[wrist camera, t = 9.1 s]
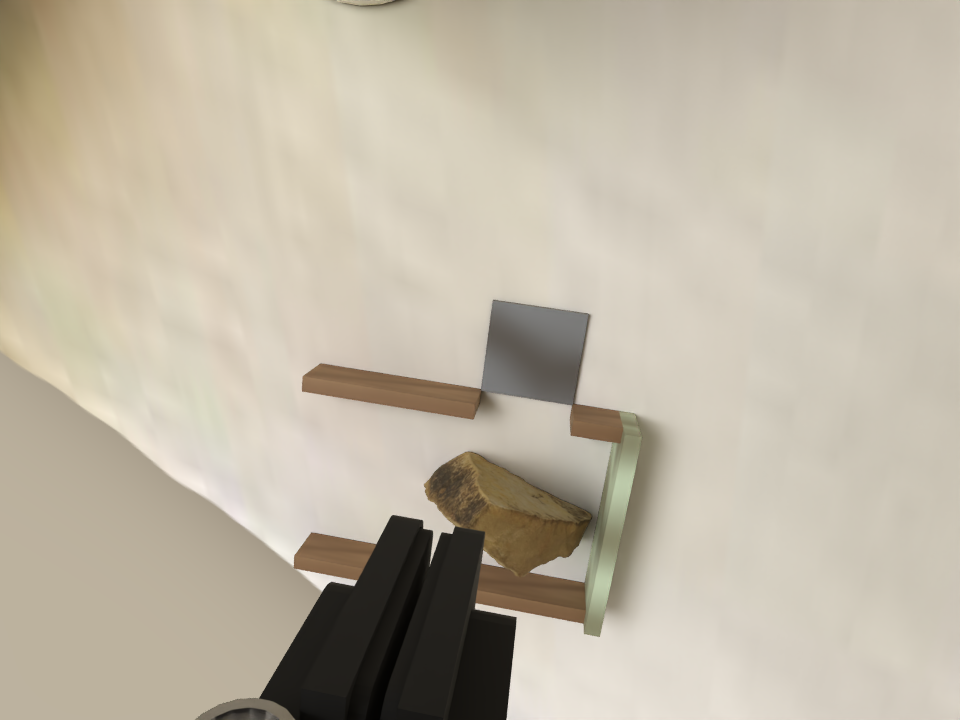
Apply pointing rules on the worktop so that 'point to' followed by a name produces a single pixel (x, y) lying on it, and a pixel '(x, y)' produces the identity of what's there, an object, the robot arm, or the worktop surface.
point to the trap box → (507, 370)
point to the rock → (506, 513)
